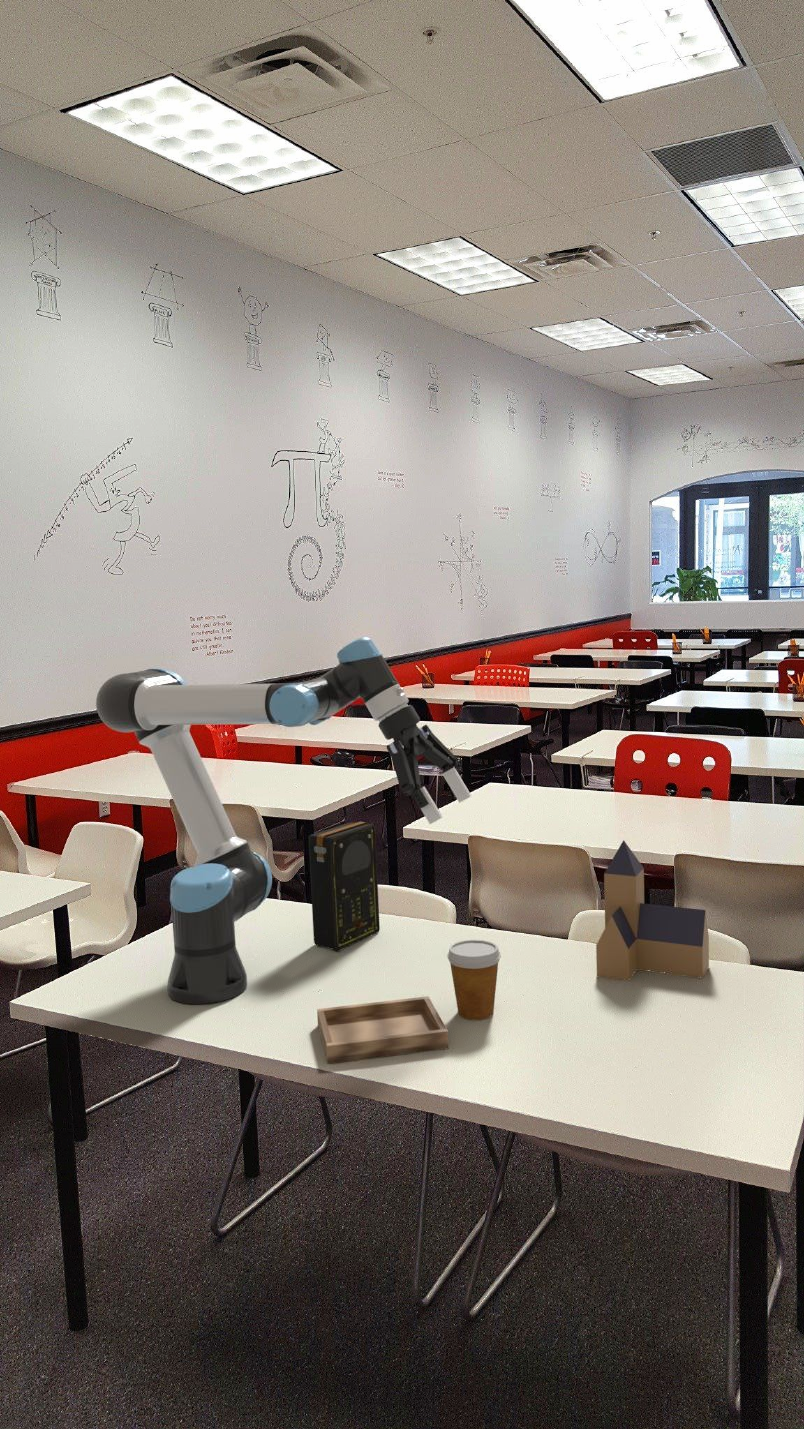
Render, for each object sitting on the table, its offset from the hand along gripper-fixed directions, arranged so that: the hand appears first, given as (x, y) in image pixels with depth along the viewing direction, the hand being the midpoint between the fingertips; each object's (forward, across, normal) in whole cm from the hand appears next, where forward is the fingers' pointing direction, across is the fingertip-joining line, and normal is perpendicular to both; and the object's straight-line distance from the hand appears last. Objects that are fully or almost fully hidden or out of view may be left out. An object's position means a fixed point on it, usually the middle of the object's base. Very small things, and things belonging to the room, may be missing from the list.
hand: (451, 809), depth 189 cm
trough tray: (+26, -29, +18) cm, 43 cm away
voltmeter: (+14, +11, +46) cm, 49 cm away
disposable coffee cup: (+33, -14, +9) cm, 37 cm away
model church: (+48, +16, -11) cm, 51 cm away
